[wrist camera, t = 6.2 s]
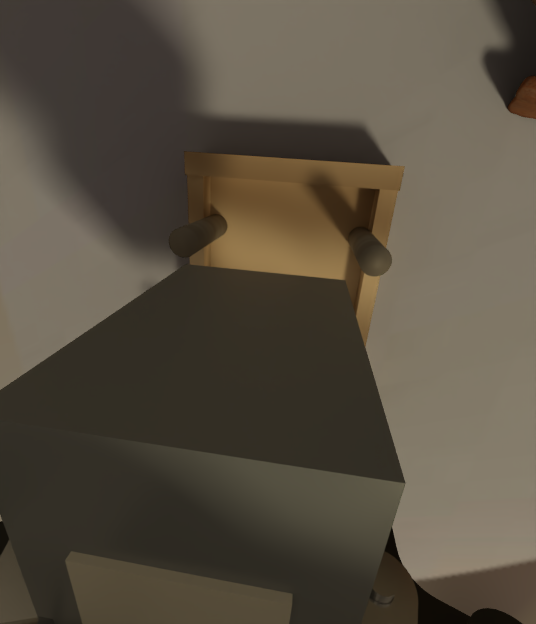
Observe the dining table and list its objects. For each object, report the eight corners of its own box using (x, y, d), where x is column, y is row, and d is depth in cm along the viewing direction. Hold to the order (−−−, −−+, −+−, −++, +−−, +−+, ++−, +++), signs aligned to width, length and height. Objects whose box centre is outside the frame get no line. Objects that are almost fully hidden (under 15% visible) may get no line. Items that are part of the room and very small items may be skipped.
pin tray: (201, 154, 18) (149, 145, 12) (392, 167, 17) (429, 164, 11) (204, 397, 24) (171, 463, 18) (343, 417, 23) (351, 493, 18)
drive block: (185, 264, 9) (-48, 422, 3) (345, 280, 9) (407, 494, 3) (193, 506, 13) (92, 782, 7) (305, 524, 13) (296, 836, 7)
